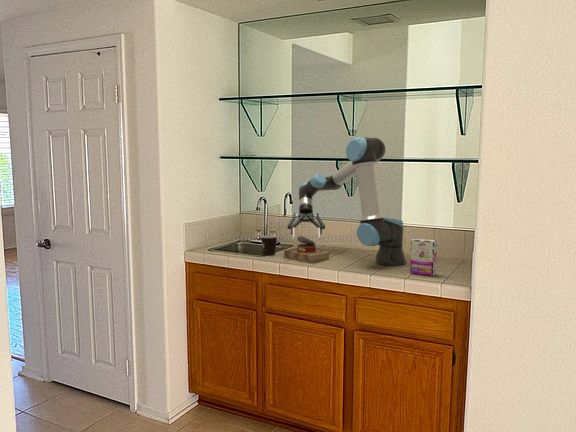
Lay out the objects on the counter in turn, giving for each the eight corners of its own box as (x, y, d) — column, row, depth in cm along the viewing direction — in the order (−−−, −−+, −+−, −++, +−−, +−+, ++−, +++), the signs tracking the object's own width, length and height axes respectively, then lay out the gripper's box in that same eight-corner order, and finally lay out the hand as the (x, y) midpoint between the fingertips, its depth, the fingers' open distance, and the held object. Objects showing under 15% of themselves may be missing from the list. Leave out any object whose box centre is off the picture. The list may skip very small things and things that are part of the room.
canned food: (297, 259, 279) (292, 241, 282) (314, 256, 282) (310, 238, 285) (302, 252, 268) (297, 234, 271) (320, 249, 271) (315, 232, 274)
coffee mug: (276, 256, 284) (276, 238, 282) (260, 256, 284) (260, 238, 283) (277, 251, 295) (277, 234, 294) (262, 251, 295) (262, 234, 294)
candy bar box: (436, 274, 242) (437, 240, 240) (432, 276, 238) (434, 241, 236) (413, 271, 248) (414, 237, 246) (409, 273, 244) (410, 239, 242)
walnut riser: (329, 259, 275) (329, 252, 275) (311, 263, 265) (311, 255, 265) (302, 254, 289) (302, 246, 289) (284, 257, 280) (284, 250, 279)
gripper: (328, 211, 290) (329, 242, 277) (283, 211, 291) (283, 242, 278) (328, 203, 284) (330, 234, 271) (283, 203, 285) (282, 234, 272)
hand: (306, 238), depth 275 cm, fingers open, 13 cm apart
